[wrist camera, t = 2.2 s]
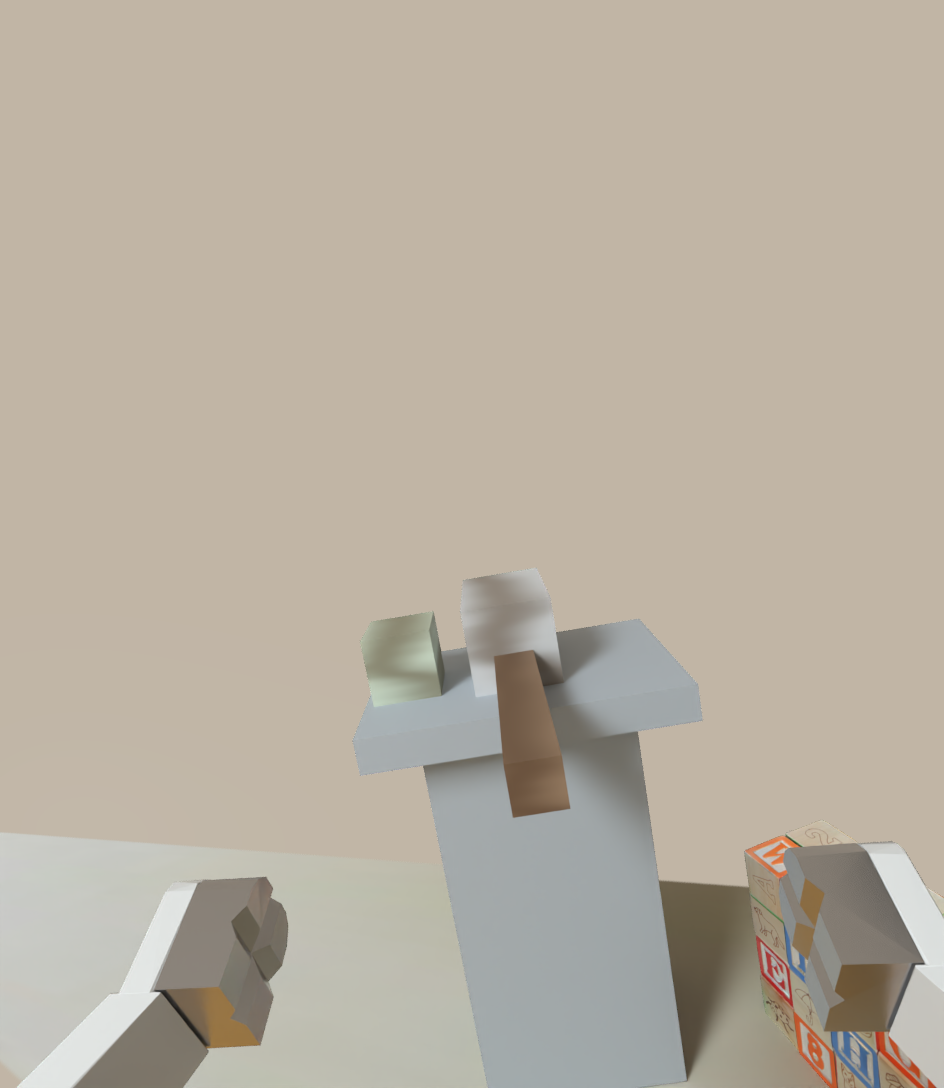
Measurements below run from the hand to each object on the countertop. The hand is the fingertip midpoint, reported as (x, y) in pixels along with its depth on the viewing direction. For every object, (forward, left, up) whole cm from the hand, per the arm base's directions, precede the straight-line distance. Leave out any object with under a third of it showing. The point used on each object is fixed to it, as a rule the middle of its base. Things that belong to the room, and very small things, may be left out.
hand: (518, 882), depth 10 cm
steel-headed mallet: (-1, -23, -7) cm, 24 cm away
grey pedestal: (-1, -28, -33) cm, 44 cm away
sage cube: (+6, -28, -7) cm, 30 cm away
